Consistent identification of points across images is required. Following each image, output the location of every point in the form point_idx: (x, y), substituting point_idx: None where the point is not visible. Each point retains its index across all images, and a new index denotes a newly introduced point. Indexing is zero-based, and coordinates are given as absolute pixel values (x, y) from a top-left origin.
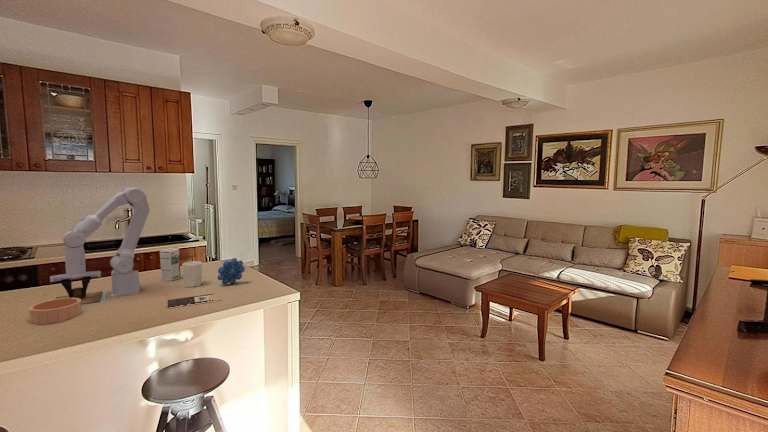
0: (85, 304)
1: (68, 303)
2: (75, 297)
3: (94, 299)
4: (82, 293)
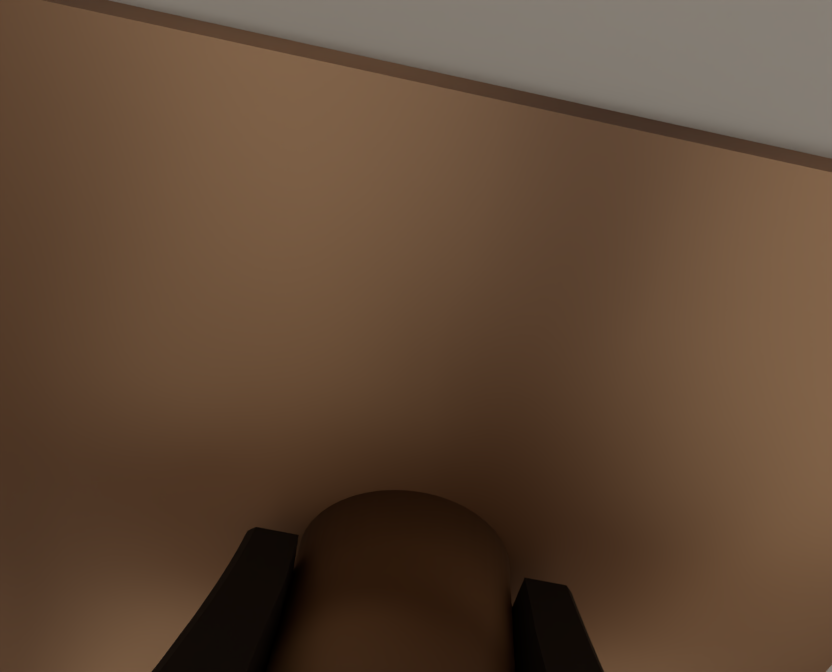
0: (269, 12)
1: None
2: (456, 565)
3: (30, 251)
4: (278, 647)
